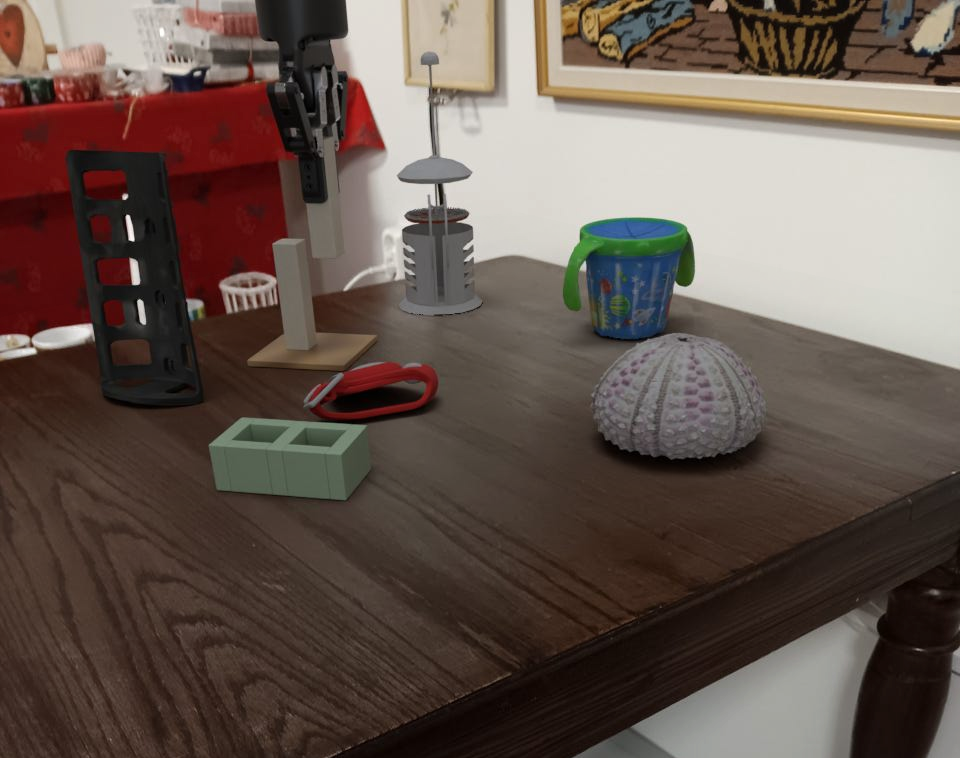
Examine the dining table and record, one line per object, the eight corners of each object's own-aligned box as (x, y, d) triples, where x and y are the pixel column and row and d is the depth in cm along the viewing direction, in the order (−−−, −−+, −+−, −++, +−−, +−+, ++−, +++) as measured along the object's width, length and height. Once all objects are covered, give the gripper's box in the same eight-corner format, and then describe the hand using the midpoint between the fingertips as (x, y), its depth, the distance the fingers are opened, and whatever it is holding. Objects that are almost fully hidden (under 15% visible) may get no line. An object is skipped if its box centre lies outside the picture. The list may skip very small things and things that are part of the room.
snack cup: (591, 357, 96) (595, 246, 90) (537, 330, 104) (537, 227, 98) (720, 332, 102) (731, 226, 96) (660, 308, 110) (667, 210, 104)
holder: (76, 401, 88) (32, 150, 79) (123, 381, 95) (87, 148, 85) (189, 410, 86) (157, 153, 77) (229, 389, 92) (204, 151, 83)
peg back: (285, 349, 99) (271, 243, 93) (295, 342, 101) (281, 238, 95) (308, 350, 98) (295, 244, 93) (317, 343, 100) (305, 238, 95)
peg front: (312, 258, 93) (298, 139, 88) (321, 252, 95) (308, 136, 89) (336, 258, 92) (323, 139, 87) (345, 253, 94) (333, 136, 89)
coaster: (247, 366, 96) (246, 360, 96) (287, 336, 104) (286, 330, 104) (344, 371, 94) (344, 365, 94) (377, 340, 102) (377, 334, 102)
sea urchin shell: (563, 423, 81) (566, 324, 77) (709, 401, 85) (719, 305, 81) (637, 486, 71) (644, 375, 66) (799, 457, 74) (817, 350, 70)
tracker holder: (336, 370, 91) (439, 346, 88) (349, 418, 92) (451, 396, 89) (286, 383, 80) (402, 356, 77) (301, 438, 81) (416, 412, 78)
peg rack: (216, 490, 72) (208, 445, 70) (248, 460, 77) (241, 417, 75) (346, 500, 70) (341, 454, 68) (371, 469, 75) (367, 424, 73)
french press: (480, 291, 118) (474, 47, 104) (487, 318, 108) (482, 53, 95) (398, 294, 118) (381, 50, 104) (397, 322, 108) (379, 56, 94)
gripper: (288, -25, 88) (311, 186, 97) (218, -26, 77) (252, 213, 86) (368, -28, 86) (384, 187, 96) (308, -30, 75) (333, 214, 85)
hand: (321, 198), depth 91 cm, fingers closed on peg front, 2 cm apart
